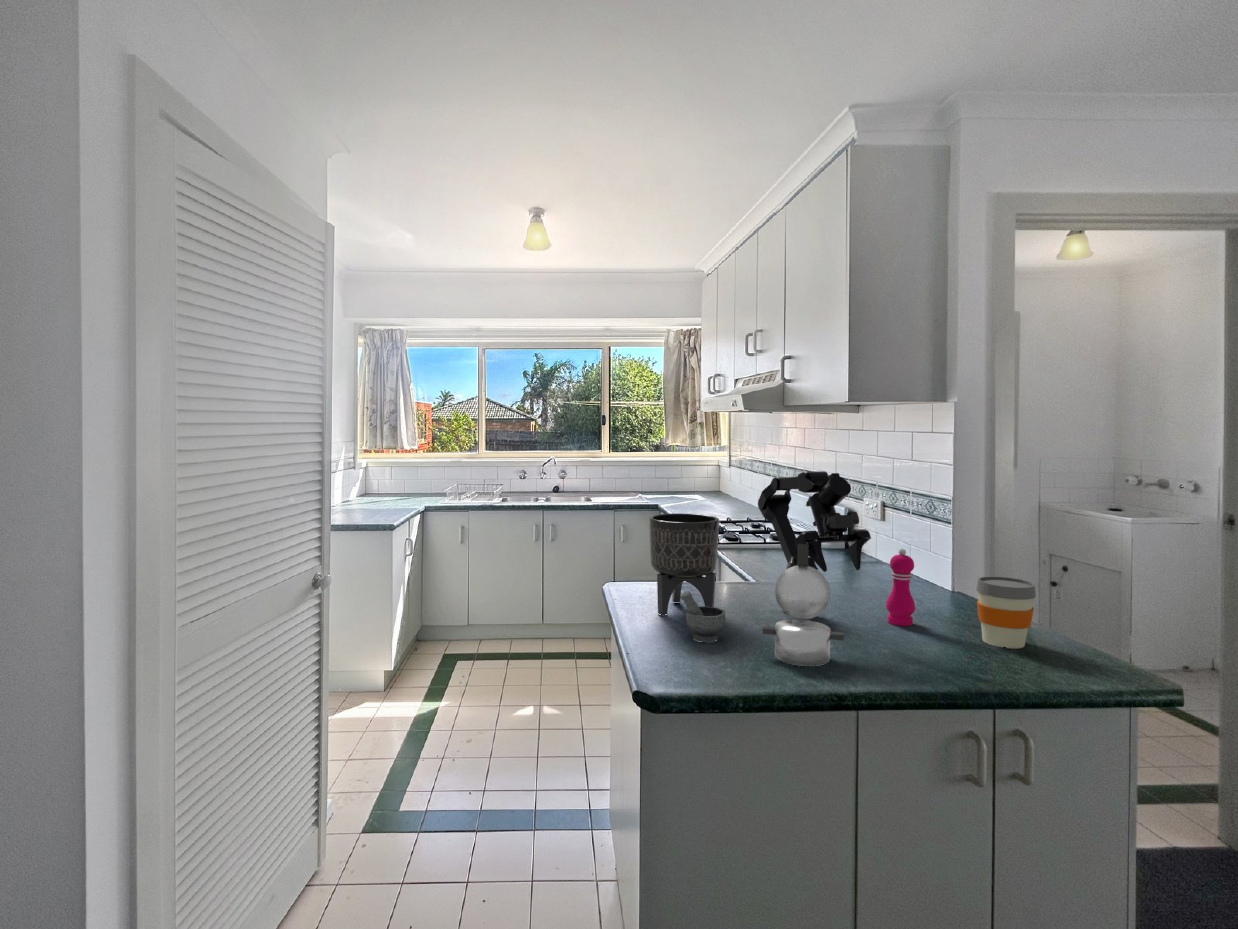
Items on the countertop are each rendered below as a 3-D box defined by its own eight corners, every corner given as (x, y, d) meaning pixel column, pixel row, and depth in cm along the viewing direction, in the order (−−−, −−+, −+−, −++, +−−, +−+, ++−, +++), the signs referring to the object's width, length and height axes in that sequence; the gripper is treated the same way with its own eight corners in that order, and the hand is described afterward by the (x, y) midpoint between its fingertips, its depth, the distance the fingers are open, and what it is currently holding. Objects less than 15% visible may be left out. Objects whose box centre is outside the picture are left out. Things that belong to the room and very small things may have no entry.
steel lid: (774, 617, 158) (774, 617, 159) (830, 621, 155) (829, 621, 156) (776, 542, 161) (776, 543, 162) (830, 545, 158) (830, 546, 159)
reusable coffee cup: (962, 637, 166) (964, 578, 165) (997, 632, 171) (1000, 574, 170) (1009, 653, 154) (1012, 590, 154) (1045, 647, 159) (1048, 585, 158)
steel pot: (762, 645, 158) (763, 616, 158) (840, 652, 154) (841, 622, 154) (761, 663, 147) (761, 631, 146) (845, 670, 142) (846, 638, 142)
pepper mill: (917, 627, 174) (920, 552, 173) (888, 625, 175) (890, 550, 174) (911, 620, 181) (913, 547, 180) (883, 618, 182) (885, 546, 181)
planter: (724, 605, 194) (726, 515, 192) (708, 624, 175) (710, 524, 174) (660, 598, 201) (661, 511, 199) (638, 615, 183) (639, 520, 181)
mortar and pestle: (718, 632, 168) (718, 585, 168) (730, 644, 159) (731, 594, 159) (675, 634, 166) (675, 587, 166) (685, 646, 157) (686, 596, 156)
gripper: (805, 500, 164) (823, 559, 156) (872, 499, 169) (892, 556, 161) (787, 520, 174) (802, 576, 166) (850, 518, 178) (868, 573, 170)
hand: (842, 570), depth 165 cm, fingers open, 9 cm apart
